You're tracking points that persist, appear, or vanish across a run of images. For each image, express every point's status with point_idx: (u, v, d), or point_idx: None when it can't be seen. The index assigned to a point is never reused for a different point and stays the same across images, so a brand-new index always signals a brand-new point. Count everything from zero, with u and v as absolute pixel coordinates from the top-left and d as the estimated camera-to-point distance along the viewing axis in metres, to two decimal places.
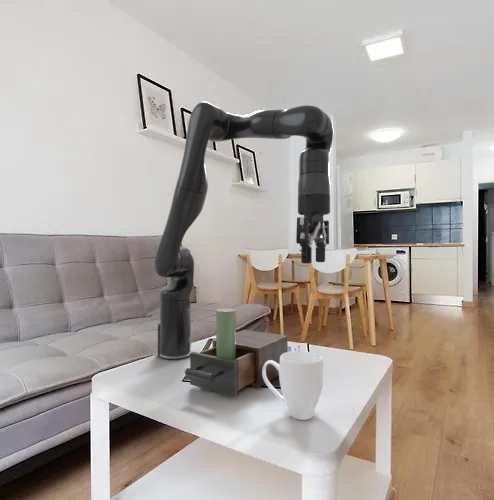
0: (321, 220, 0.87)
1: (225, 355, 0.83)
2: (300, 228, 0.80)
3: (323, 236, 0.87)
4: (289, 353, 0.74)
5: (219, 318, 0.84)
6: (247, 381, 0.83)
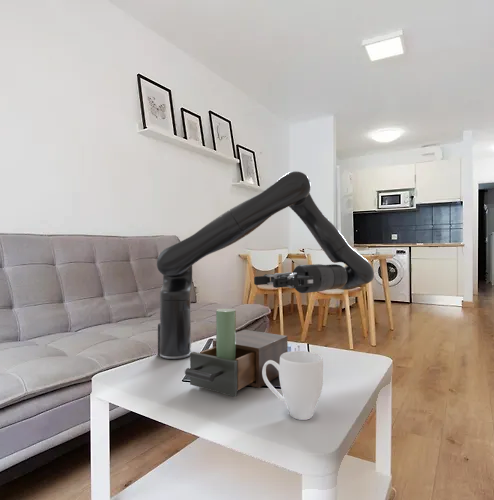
0: None
1: (225, 355, 0.83)
2: (306, 280, 0.89)
3: None
4: (289, 353, 0.74)
5: (219, 318, 0.84)
6: (247, 381, 0.83)
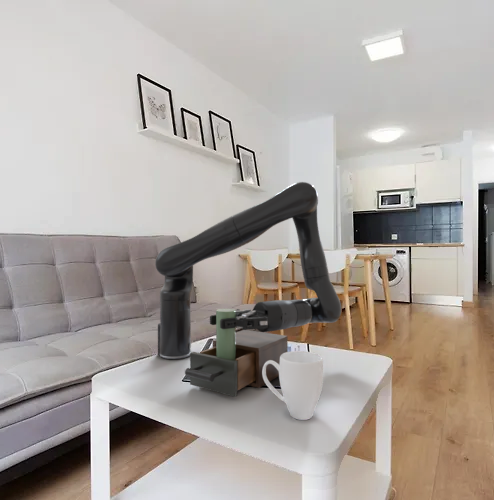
0: None
1: (225, 355, 0.83)
2: (257, 322, 0.83)
3: None
4: (289, 353, 0.74)
5: (219, 317, 0.84)
6: (247, 381, 0.83)
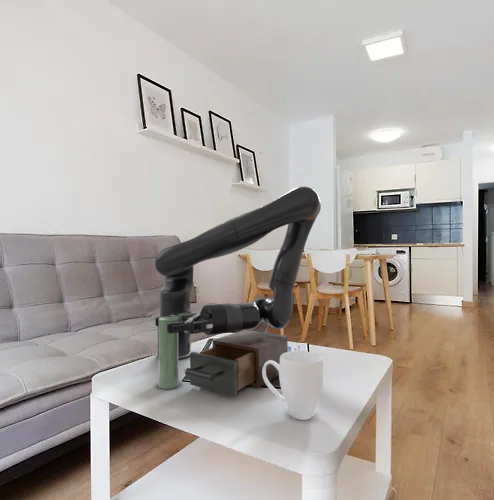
0: None
1: (166, 363, 0.84)
2: (203, 325, 0.84)
3: None
4: (289, 353, 0.74)
5: (161, 326, 0.85)
6: (247, 381, 0.83)
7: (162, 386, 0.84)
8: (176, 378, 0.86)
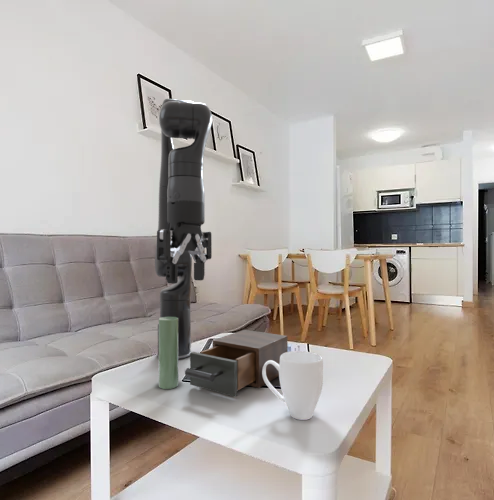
0: (196, 231, 0.75)
1: (166, 363, 0.84)
2: (160, 243, 0.68)
3: (199, 250, 0.75)
4: (289, 353, 0.74)
5: (161, 326, 0.85)
6: (247, 381, 0.83)
7: (162, 386, 0.84)
8: (176, 378, 0.86)
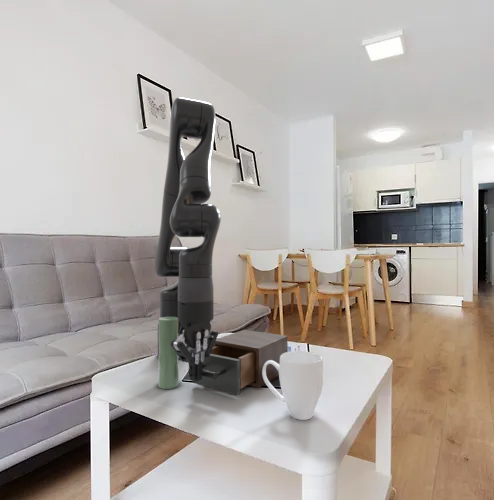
0: (206, 325, 0.78)
1: (166, 363, 0.84)
2: (179, 353, 0.73)
3: (202, 346, 0.76)
4: (289, 353, 0.74)
5: (161, 326, 0.85)
6: (250, 380, 0.84)
7: (162, 386, 0.84)
8: (176, 378, 0.86)
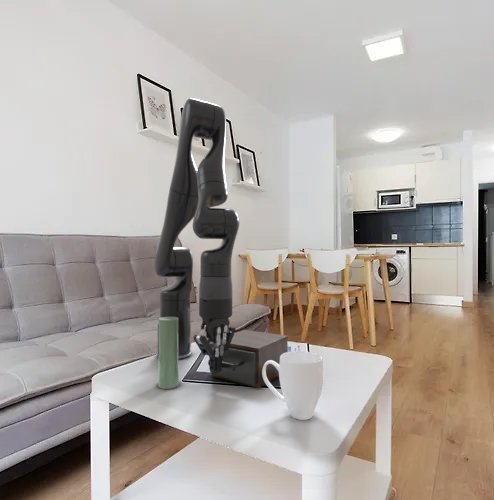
0: (225, 321, 0.84)
1: (166, 363, 0.84)
2: (201, 346, 0.79)
3: (221, 340, 0.82)
4: (289, 353, 0.74)
5: (161, 326, 0.85)
6: None
7: (162, 386, 0.84)
8: (176, 378, 0.86)
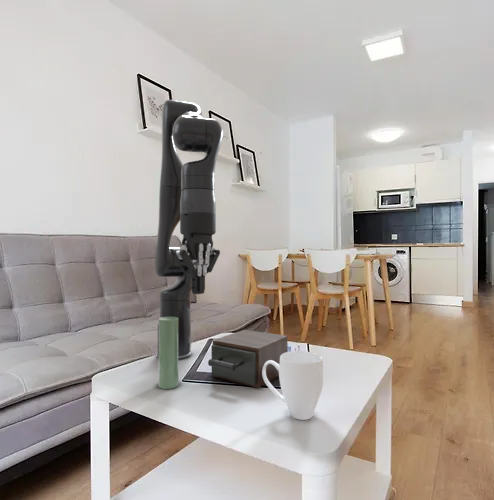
0: (208, 241, 0.78)
1: (166, 363, 0.84)
2: (181, 262, 0.73)
3: (204, 259, 0.77)
4: (289, 353, 0.74)
5: (161, 326, 0.85)
6: None
7: (162, 386, 0.84)
8: (176, 378, 0.86)
